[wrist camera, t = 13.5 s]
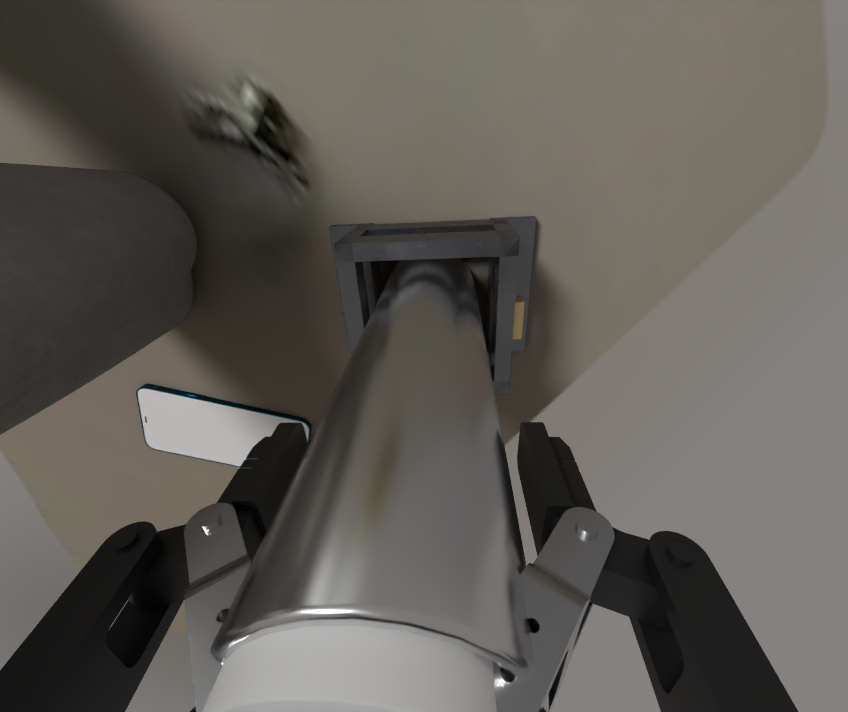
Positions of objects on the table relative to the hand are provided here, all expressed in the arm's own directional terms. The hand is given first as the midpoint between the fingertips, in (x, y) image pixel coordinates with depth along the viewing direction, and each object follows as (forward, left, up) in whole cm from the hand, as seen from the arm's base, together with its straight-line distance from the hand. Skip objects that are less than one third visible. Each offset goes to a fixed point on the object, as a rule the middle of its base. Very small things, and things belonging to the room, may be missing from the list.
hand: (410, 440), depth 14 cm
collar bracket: (0, 0, -17) cm, 16 cm away
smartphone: (-20, -14, -17) cm, 30 cm away
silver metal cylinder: (0, 0, -17) cm, 17 cm away
